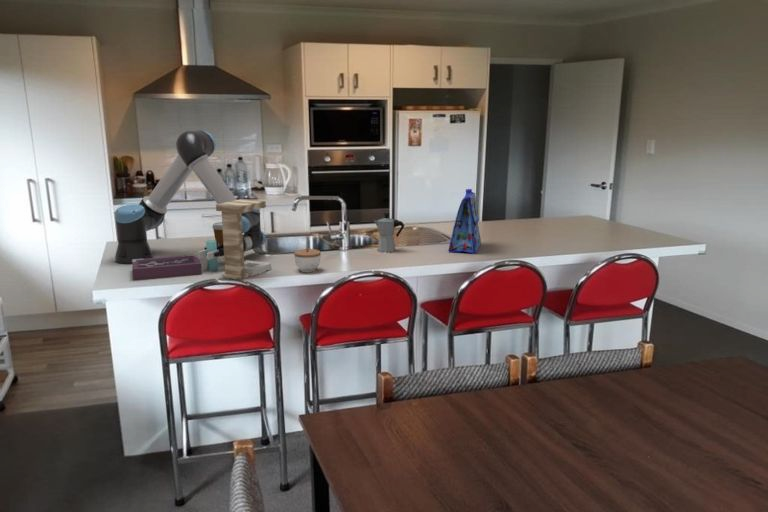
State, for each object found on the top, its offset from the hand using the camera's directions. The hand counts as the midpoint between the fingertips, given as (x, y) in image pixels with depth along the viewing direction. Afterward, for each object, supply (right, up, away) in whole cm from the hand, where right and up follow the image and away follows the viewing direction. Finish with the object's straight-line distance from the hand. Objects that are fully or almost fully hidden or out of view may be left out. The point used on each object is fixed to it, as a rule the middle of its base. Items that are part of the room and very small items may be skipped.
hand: (203, 255), depth 231 cm
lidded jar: (+41, -6, +7) cm, 42 cm away
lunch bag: (+111, +3, +48) cm, 121 cm away
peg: (+2, -6, +6) cm, 9 cm away
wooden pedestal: (+16, -7, +1) cm, 18 cm away
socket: (+18, -6, +5) cm, 19 cm away
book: (-15, -7, +3) cm, 17 cm away
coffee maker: (+74, +2, +42) cm, 85 cm away
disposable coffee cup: (-4, +3, +44) cm, 45 cm away
